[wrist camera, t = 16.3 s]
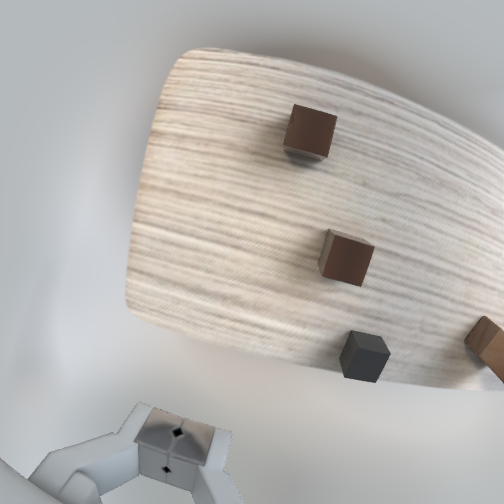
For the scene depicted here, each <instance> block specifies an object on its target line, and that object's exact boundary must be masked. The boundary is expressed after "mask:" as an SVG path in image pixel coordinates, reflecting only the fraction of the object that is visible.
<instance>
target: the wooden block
mask: <svg viewBox="0 0 504 504" xmlns="http://www.w3.org/2000/svg"><path fill="white" fill-rule="evenodd" d="M465 343H466V344H467V345H468V346H469V347H470V348H471V349H472V350H473V351H474V352H475V353H476V354H477V355H478V356H479V358H480V359H481V360H482V361H483V362H484V363H485V364H486V365H487V366H488V367H489V368H490V369H491V370H492V371H493V372H494V373H495V374H496V375H497V376H498V377H499V378H500V380H501V381H502V382H503V383H504V331H503V330H502V329H501V328H500V327H499V326H498V325H496V324H495V323H494V322H493V321H491V320H490V319H489V318H487V317H486V316H483V317H482V318H481V320H480V321H479V322H478V324H477V325H476V326H475V328H474V329H473V330H472V331H471V333H470V334H469V335H468V336H467V338H466V339H465Z"/></svg>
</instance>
